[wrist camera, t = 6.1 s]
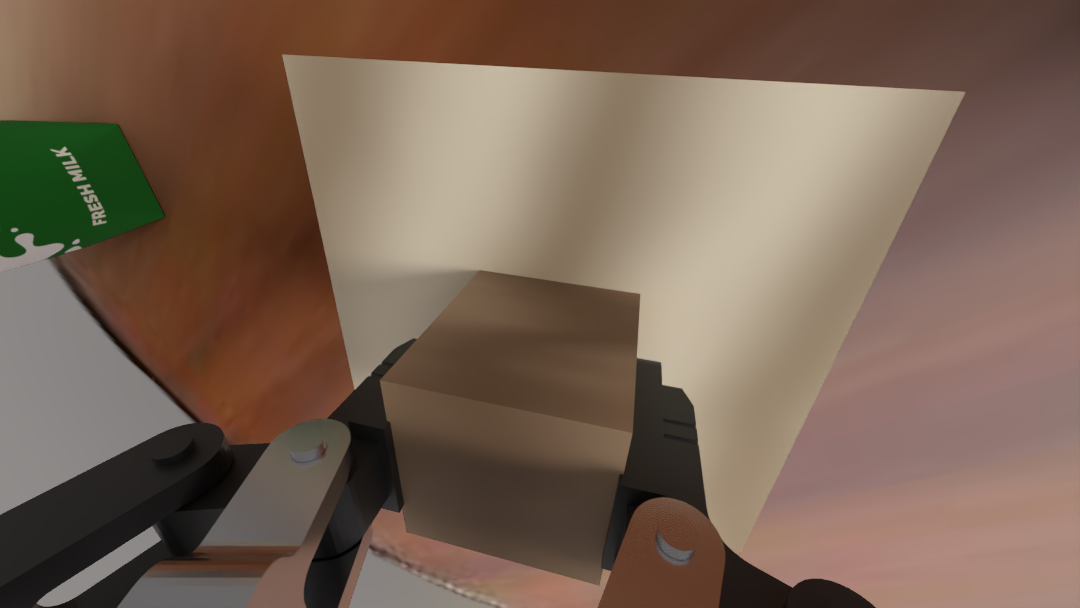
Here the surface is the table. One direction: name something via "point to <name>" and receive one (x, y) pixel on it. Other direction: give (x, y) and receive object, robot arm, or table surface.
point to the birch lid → (596, 273)
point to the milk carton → (67, 189)
